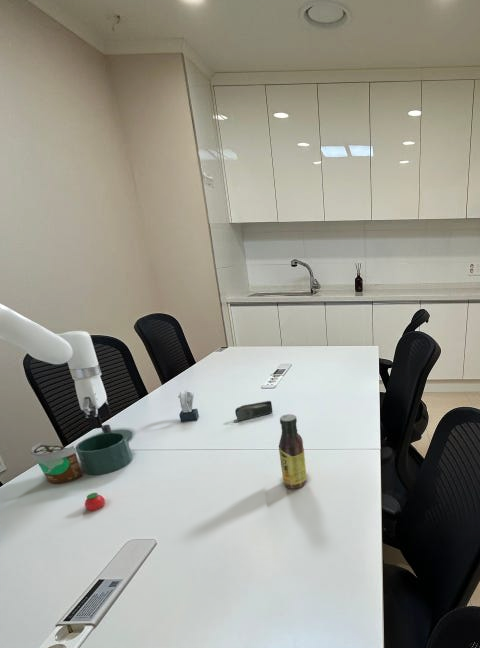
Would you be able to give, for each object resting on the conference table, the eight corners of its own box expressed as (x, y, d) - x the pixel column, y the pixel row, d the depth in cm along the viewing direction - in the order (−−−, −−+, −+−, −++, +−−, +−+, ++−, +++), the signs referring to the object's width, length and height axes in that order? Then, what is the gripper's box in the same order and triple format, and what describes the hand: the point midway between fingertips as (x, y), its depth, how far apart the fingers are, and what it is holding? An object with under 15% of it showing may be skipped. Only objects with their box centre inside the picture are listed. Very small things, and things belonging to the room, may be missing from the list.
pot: (77, 478, 109) (68, 455, 106) (92, 457, 120) (84, 436, 117) (126, 470, 112) (119, 447, 109) (136, 450, 123) (130, 429, 120)
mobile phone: (269, 399, 149) (230, 407, 141) (272, 401, 146) (232, 410, 139) (270, 411, 151) (232, 420, 143) (273, 413, 148) (234, 422, 140)
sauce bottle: (282, 479, 106) (273, 413, 98) (305, 475, 108) (297, 409, 100) (285, 492, 100) (276, 423, 92) (309, 487, 102) (302, 419, 94)
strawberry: (85, 517, 93) (79, 501, 91) (91, 507, 97) (85, 492, 95) (104, 513, 94) (98, 498, 92) (109, 504, 98) (104, 489, 96)
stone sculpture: (199, 414, 149) (193, 387, 145) (196, 422, 142) (189, 394, 138) (184, 415, 148) (177, 388, 144) (179, 424, 141) (172, 396, 137)
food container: (31, 483, 107) (16, 452, 103) (52, 472, 113) (39, 441, 109) (66, 488, 104) (53, 456, 100) (86, 476, 110) (74, 445, 106)
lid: (80, 453, 122) (74, 438, 120) (94, 435, 134) (88, 421, 132) (127, 446, 126) (122, 431, 124) (137, 429, 138) (132, 415, 135)
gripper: (81, 365, 127) (97, 414, 133) (60, 381, 111) (78, 434, 118) (108, 363, 129) (121, 411, 135) (90, 378, 113) (106, 431, 120)
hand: (101, 422), depth 127 cm, fingers open, 9 cm apart
